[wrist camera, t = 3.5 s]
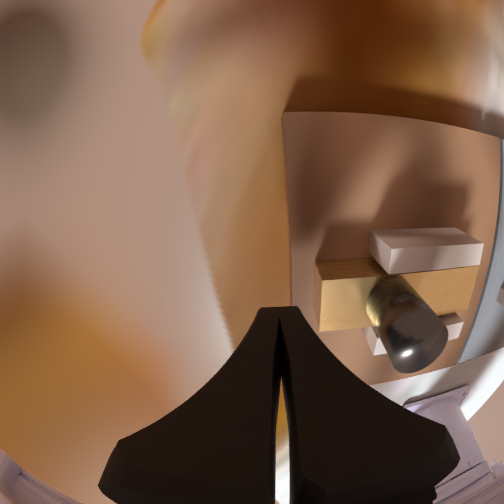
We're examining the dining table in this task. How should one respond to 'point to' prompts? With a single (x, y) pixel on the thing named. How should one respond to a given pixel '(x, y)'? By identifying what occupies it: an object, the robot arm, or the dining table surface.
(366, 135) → the two-tone tabbed panel
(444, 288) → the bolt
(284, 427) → the dining table surface
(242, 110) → the dining table surface
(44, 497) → the robot arm
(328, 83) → the dining table surface
